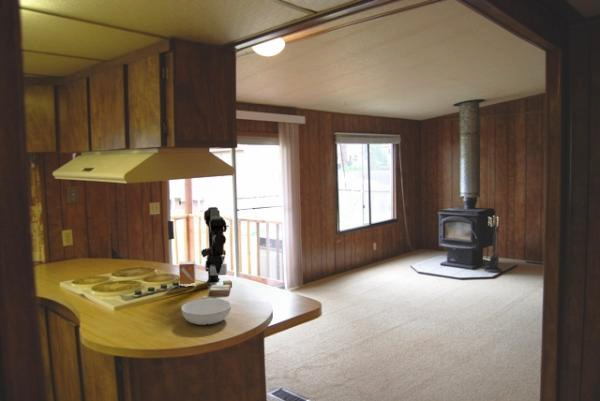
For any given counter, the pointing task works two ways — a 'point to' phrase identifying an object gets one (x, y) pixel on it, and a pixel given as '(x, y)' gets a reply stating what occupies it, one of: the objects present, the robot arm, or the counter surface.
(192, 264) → the small box
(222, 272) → the housing
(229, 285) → the oak offcut
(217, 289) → the stand
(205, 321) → the serving bowl
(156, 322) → the counter surface
